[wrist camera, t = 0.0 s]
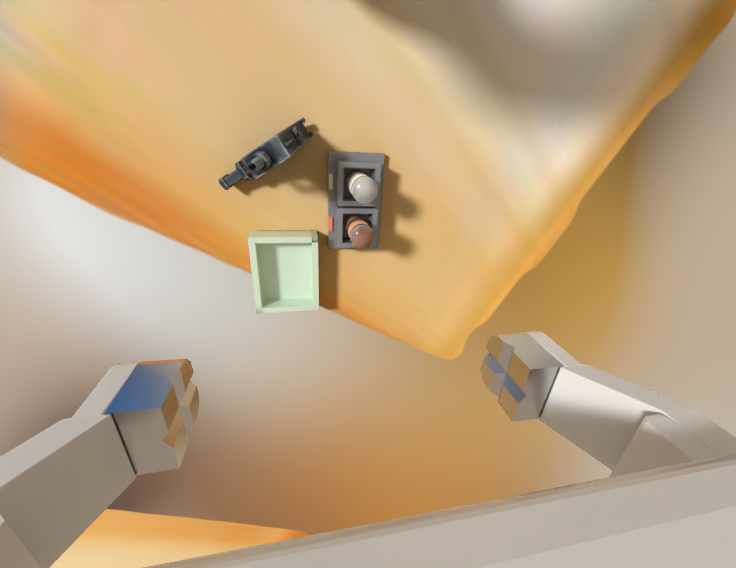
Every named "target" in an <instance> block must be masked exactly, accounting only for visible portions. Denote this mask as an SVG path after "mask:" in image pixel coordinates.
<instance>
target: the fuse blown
mask: <svg viewBox="0 0 736 568" xmlns="http://www.w3.org/2000/svg"><path fill="white" fill-rule="evenodd" d="M344 227H345V229H346V231H347V233H348V235H349V237H350V240H351V242H352V244H353V245H354V246H355V247H356V248H358V249H366V248H369V247H370V246H371V245H372V244H373V242H374V240H375V234H374V232H373V230H372V229H371V227H370V226H369V225H368V224H367V222H366V221H365V219H364V218H363V217H362V216H361V215H360V214H350V215H348V216H347V217H346V219H345V221H344Z"/></svg>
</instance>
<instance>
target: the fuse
mask: <svg viewBox="0 0 736 568" xmlns="http://www.w3.org/2000/svg"><path fill="white" fill-rule="evenodd" d="M345 185H346V188H347V189H348V191H349V192H350V193H351V194H352V195H353V197H354V198H355V199H356V200H357V201H358V202H360V203H363V204H367V203H370V202H372V201H373V200H374V199H375V198H376V196H377V193H378V187H377V184H376V182H375V181H374V180H373V179H371V178H370V177H368V176H366V175H365V174H364V173H363V172H361V171H358V170H354V171H351V172H350V173H349V174H348V175H347V176H346V179H345Z"/></svg>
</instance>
